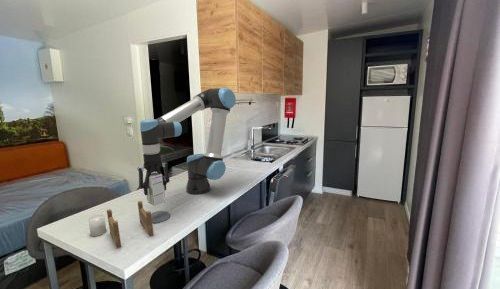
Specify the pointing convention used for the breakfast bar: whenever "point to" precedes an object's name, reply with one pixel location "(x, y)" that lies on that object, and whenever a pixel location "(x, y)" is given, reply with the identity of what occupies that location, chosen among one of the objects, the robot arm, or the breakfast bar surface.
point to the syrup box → (156, 189)
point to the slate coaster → (160, 216)
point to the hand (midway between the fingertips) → (156, 198)
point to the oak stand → (144, 221)
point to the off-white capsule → (97, 225)
